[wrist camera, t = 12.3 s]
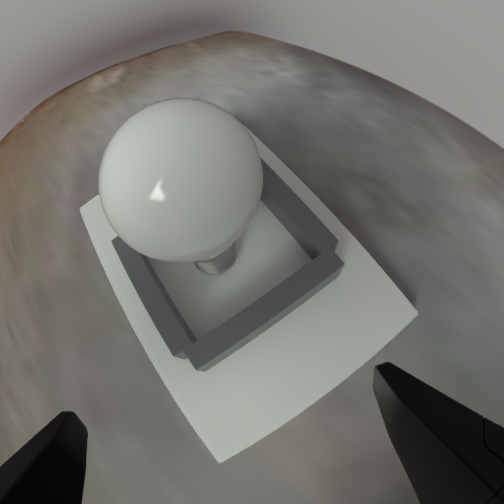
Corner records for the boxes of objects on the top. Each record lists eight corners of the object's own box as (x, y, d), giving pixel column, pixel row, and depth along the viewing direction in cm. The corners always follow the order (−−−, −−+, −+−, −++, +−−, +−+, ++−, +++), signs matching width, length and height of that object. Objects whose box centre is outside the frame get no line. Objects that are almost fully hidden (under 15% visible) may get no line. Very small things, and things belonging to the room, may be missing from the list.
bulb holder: (412, 317, 17) (432, 305, 15) (222, 459, 15) (211, 472, 13) (231, 121, 25) (226, 94, 22) (85, 214, 23) (65, 195, 20)
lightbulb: (188, 202, 21) (126, 67, 11) (282, 223, 20) (279, 71, 10) (151, 291, 19) (36, 192, 9) (252, 323, 17) (211, 232, 7)
